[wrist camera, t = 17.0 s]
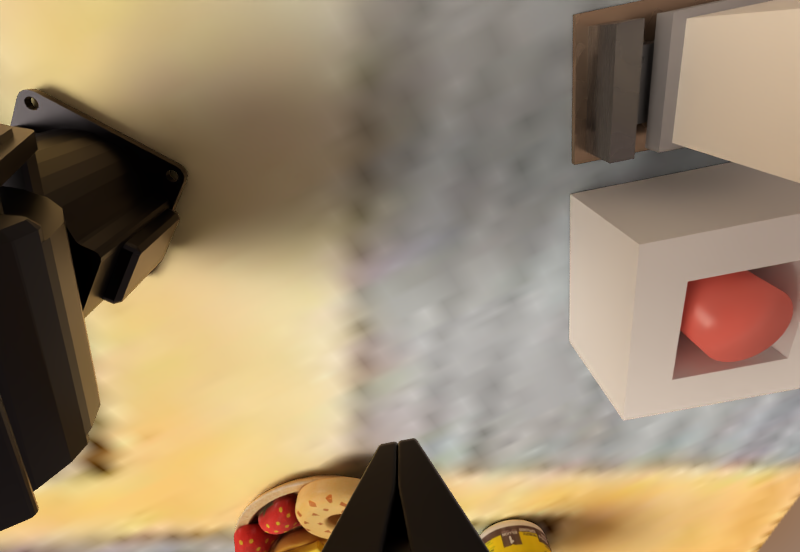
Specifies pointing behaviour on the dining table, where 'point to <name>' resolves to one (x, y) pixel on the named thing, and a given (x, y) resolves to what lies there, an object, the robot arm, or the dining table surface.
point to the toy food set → (294, 515)
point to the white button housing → (679, 283)
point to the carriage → (729, 83)
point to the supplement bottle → (515, 537)
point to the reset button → (734, 315)
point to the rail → (614, 78)
